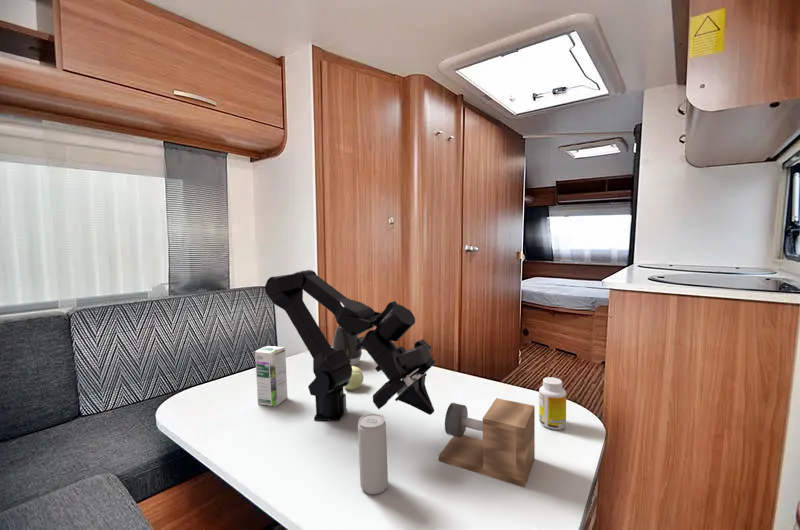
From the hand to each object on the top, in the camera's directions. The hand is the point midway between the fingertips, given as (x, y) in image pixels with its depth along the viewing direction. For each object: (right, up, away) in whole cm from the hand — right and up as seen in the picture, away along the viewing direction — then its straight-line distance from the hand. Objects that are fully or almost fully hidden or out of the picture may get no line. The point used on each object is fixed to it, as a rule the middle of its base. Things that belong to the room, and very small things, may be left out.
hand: (432, 413), depth 74 cm
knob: (+7, -3, -4) cm, 9 cm away
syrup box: (-41, -6, +23) cm, 47 cm away
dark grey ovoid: (-25, -4, +49) cm, 55 cm away
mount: (+10, -7, -5) cm, 13 cm away
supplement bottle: (+28, -6, +7) cm, 29 cm away
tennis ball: (-20, -5, +30) cm, 37 cm away
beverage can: (-11, -8, -12) cm, 18 cm away
